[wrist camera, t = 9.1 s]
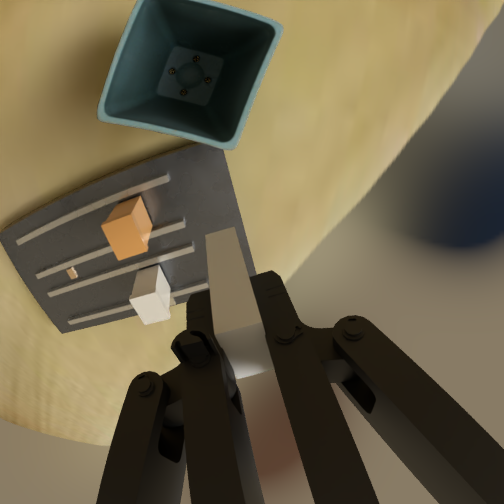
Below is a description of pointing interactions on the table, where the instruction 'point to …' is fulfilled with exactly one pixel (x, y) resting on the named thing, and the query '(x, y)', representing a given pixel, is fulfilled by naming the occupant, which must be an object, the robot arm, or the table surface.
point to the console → (100, 251)
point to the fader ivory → (151, 295)
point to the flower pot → (189, 69)
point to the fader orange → (128, 228)
